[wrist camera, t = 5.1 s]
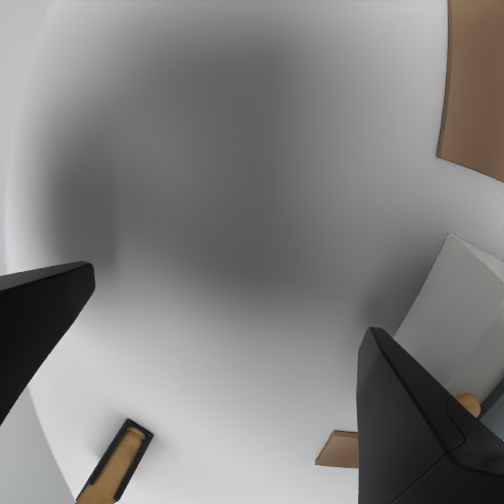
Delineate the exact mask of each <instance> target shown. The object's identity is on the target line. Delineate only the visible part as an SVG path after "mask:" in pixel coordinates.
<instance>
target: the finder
mask: <svg viewBox="0 0 504 504" xmlns="http://www.w3.org/2000/svg"><path fill="white" fill-rule="evenodd" d="M393 339H394V340H395V341H396V342H397V343H398V344H400V345H401V346H402V347H403V348H404V349H405V350H406V351H407V352H408V353H409V354H410V355H411V356H412V357H413V358H414V359H415V360H416V361H417V362H418V363H420V364H421V365H422V366H423V367H424V368H425V369H426V370H427V371H428V372H429V373H430V374H431V375H432V376H433V377H434V378H435V379H436V380H437V381H438V382H439V383H440V384H441V385H442V386H443V387H444V388H445V389H446V390H447V391H448V392H449V394H452V395H453V396H454V397H455V398H456V399H457V401H459V402H460V403H461V404H462V405H463V406H464V407H465V408H466V409H467V410H468V411H469V412H470V413H471V414H472V415H474V416H475V417H476V418H477V419H478V420H479V421H480V422H482V423H483V424H484V425H485V426H486V427H487V428H489V429H490V430H491V431H492V432H493V433H494V434H496V435H497V436H498V437H499V438H500V439H501V440H504V261H502V260H500V259H498V258H496V257H495V256H493V255H491V254H489V253H487V252H485V251H483V250H481V249H480V248H478V247H476V246H474V245H472V244H470V243H468V242H466V241H464V240H462V239H460V238H458V237H456V236H454V235H452V234H450V233H448V235H447V238H446V240H445V242H444V244H443V246H442V249H441V251H440V253H439V255H438V257H437V259H436V261H435V263H434V265H433V267H432V269H431V271H430V273H429V275H428V277H427V279H426V281H425V283H424V285H423V287H422V289H421V290H420V292H419V294H418V296H417V298H416V300H415V301H414V303H413V305H412V307H411V308H410V310H409V312H408V314H407V315H406V317H405V319H404V320H403V322H402V324H401V325H400V327H399V329H398V330H397V332H396V334H395V335H394V337H393Z"/></svg>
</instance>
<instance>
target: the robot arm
mask: <svg viewBox="0 0 504 504" xmlns="http://www.w3.org/2000/svg"><path fill="white" fill-rule="evenodd" d="M94 290H95V276H94V267H93V265H92V264H91V263H89V262H85V261H78V262H73V263H67V264H62V265H56V266H51V267H45V268H40V269H35V270H29V271H24V272H19V273H14V274H8V275H3V276H0V426H1V424H2V423H3V421H4V420H5V418H6V416H7V415H8V413H9V412H10V409H11V408H12V407H13V405H14V404H15V402H16V400H17V399H18V397H19V396H20V394H21V393H22V392H23V390H24V389H25V387H26V386H27V384H28V383H29V382H30V380H31V379H32V377H33V376H34V374H35V373H36V372H37V370H38V369H39V367H40V366H41V365H42V363H43V362H44V361H45V359H46V358H47V357H48V355H49V354H50V353H51V351H52V350H53V349H54V347H55V346H56V345H57V343H58V342H59V341H60V339H61V338H62V337H63V335H64V334H65V333H66V332H67V330H68V329H69V328H70V327H71V325H72V324H73V323H74V321H75V320H76V318H77V317H78V315H79V313H80V312H81V310H82V309H83V307H84V306H85V304H86V303H87V301H88V300H89V298H90V297H91V295H92V294H93V292H94ZM356 404H357V423H358V455H359V494H358V504H504V441H503V440H501V439H500V438H499V437H498V436H497V435H496V434H494V433H493V432H492V431H491V430H490V429H489V428H487V427H486V426H485V425H484V424H483V423H482V422H480V421H479V420H478V419H477V418H476V417H475V416H474V415H472V414H471V413H470V412H469V411H468V410H467V409H466V408H465V407H464V406H463V405H462V404H461V403H460V402H459V401H457V399H456V398H455V397H454V396H453V395H452V394H449V392H448V391H447V390H446V389H445V388H444V387H443V386H442V385H441V384H440V383H439V382H438V381H437V380H436V379H435V378H434V377H433V376H432V375H431V374H430V373H429V372H428V371H427V370H426V369H425V368H424V367H423V366H422V365H421V364H420V363H418V362H417V361H416V360H415V359H414V358H413V357H412V356H411V355H410V354H409V353H408V352H407V351H406V350H405V349H404V348H403V347H402V346H401V345H400V344H398V343H397V342H396V341H395V340H394V339H393V338H392V337H391V336H390V335H389V334H388V333H387V332H386V331H385V330H383V329H382V328H378V327H369V328H368V329H367V331H366V334H365V336H364V339H363V341H362V344H361V346H360V349H359V353H358V372H357V391H356Z"/></svg>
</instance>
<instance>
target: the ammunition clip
mask: <svg viewBox="0 0 504 504" xmlns="http://www.w3.org/2000/svg"><path fill="white" fill-rule="evenodd" d="M153 436H154V435H152V434H151V433H149V432H147V431H146V430H144V429H142V428H141V427H139V426H138V425H136V424H134V423H133V422H131V421H130V420H128V419H126V421H125V422H124V424H123V426H122V427H121V429H120V430H119V432H118V433H117V435H116V436H115V438H114V439H113V441H112V443H111V444H110V446H109V447H108V449H107V450H106V452H105V453H104V455H103V457H102V458H101V460H100V461H99V463H98V464H97V466H96V468H95V469H94V471H93V473H92V474H91V476H90V477H89V479H88V481H87V482H86V484H85V486H84V487H83V489H82V490H81V492H80V494H79V495H78V497H77V499H76V501H77V502H76V503H75V504H114V503H115V502H117V501H119V500H120V498H121V496H122V494H123V492H124V490H125V489H126V487H127V485H128V483H129V481H130V479H131V477H132V475H133V474H134V472H135V470H136V468H137V466H138V464H139V462H140V461H141V459H142V457H143V455H144V453H145V451H146V449H147V447H148V446H149V444H150V442H151V440H152V438H153Z"/></svg>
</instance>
